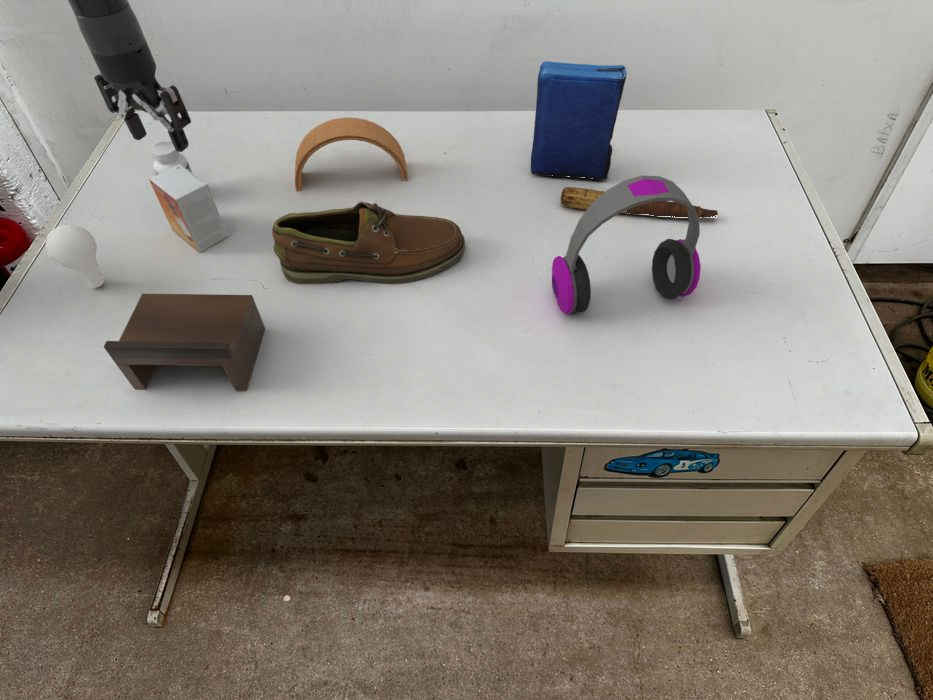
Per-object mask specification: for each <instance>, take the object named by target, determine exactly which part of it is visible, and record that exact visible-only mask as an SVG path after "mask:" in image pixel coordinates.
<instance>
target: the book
mask: <svg viewBox="0 0 933 700" xmlns="http://www.w3.org/2000/svg"><path fill="white" fill-rule="evenodd" d="M627 75H628V73H627V69H626V66H624V65H622V64H615V65H614V64H613V65H611V64H610V65H607V64H606V65H603V64H600V65H599V64H587V63H586V64H584V63H569V62H558V61H548V60H547V61H543V62H542V63H541V64H540V66H539V72H538V76H537V83H536V84H537V86H536V87H537V88H536V89H537V91H536V102H535V103H536V104H535V115H534V126H533V127H534V128H533V138H532V147H531V154H530V173H531V174H533V175H538V174H539V176H543V175H544V176H545V175H546V176H549V175H550V176H549V177H553V176H570V177H585V178H593V179H604V180H606V179H607V178H608V176H609V172H610V169H611V165H612V155H613V146H612V144H611V141H612V139H613V135H614V132H615V131H614V130H615V127H616V124H617V123H616V122H617V118H618V114H619V108H620V105H621V101H622V97H623V93H624V88H625V84H626V79H627ZM552 175H553V176H552ZM606 177H607V178H606ZM605 178H606V179H605ZM593 179H592V180H593Z"/></svg>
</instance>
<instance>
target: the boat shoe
mask: <svg viewBox="0 0 933 700" xmlns="http://www.w3.org/2000/svg"><path fill="white" fill-rule="evenodd" d="M271 233H272V239H273V241H274V243H273V247H272V248H273V252H274V254H275V255H276V256H277V258H278V260H279V264H280V267H281V272H282V274H283V276H284V277H285V279H286V280H287V281H289V282H292V283H295V284H296V283H297V284H302V285H303V284H338V283H340V282H342V281H343V280H356V281H363V282H370V283H371V282H372V283H380V284H405V283H411V282H416V281H419V280H423V279H426V278H428V277H431V276H433V275H436V274H437V273H440V272H442V271H444V270H446V269H447V268H449V267H450V266H452V265H454V264H455V263H456V262H457V261H458V260H459V259H461V257H462V256H463V255H464V253H465V251H466V239H465V236H464V234H463V233H462V230H461V228H460V226H459V225H458V224H457V223H456V222H454V221H453V220H450V219H447V218H444V217H437V216H426V215H413V214H412V215H410V214H401V213H394V212H393V211H391V210H389V209H387V208H384V207H382V206H379V205H378V204H377V203H370V202H367V201H359V202H358V203H356V204H355V205H354V206H352V207H347V208H332V209H326V210H319V211H310V212H307V211H306V212H290V213H287V214H284V215H282V216H281V217H279V218H277V219H276V220H275V221H274V222H273V224H272V229H271Z"/></svg>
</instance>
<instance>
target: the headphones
mask: <svg viewBox="0 0 933 700" xmlns="http://www.w3.org/2000/svg"><path fill="white" fill-rule="evenodd" d="M654 201H669V202H677V203H680V204H683V205H685V206H686V207H687V209H688V218H689V219H688V226H687V230H686V236H685V238H684V239H683V238H679V239H673V238H667V239H664V240H663V241H661V242H660V243H659V244H658V246H657V247H656V248H655V250H654V251H653V255H652V259H651V260H652V261H651V275H652V281H653V284H654V287H655V289H656V290H657V292H658V293H659V294H660V295H661V296H662V297H663V298H666V299H668V300H673V299H676V298H677V299H678V298H679V297H680V298H686V297H688V296H690V295H692V294H693V293H694V291H696V289H697V288H698V285H699V282H700V279H701V267H702V266H701V261H700V254H699V253H698V250H697V248H696V247H697V244H698V240H699V238H700V235H701V234H700V233H701V232H700V231H701V230H700V229H701V228H700V220H699V217H698V215H697V212H696V210H695V208H694V207H693V203H692V202H691V201H690V198H688V196H687V195H686V194H685V191H683V189H682V188H680V187H679V186H678V185H677V184H676V183H675V182H674V181H672V180H670V179H668V178H665V177H662V176H660V175H639V176H635V177H631V178H627V179H624V180H622V181H620V182H619V183H617V184H615V185H613V186H612V187H610V188H608V189H606V190H605V192H604V193H603V194H602V195H601V196H600V197H599V198H597V199H596V200H595V201H594V202H593V203H592V204H591V205H590V206H589V208H588V209H587V210H586V209H585V212H584V213H583V214H582V215H581V217H580V218H579V219H578V222H577V224H576V226H575V228H574V230H573V232H572V234H571V237H570V240H569V243H568V247H567V250H566V254H565V256H561V255H557V256H555V257H554V258H553V260H552V264H551V287H552V293H553V295H554V298H555V300H556V303H557V306H558V308H559V309H560V311H561V312H562V313H563V314H564V315H570V314H572V312H574V313H577V314H582V313H584V312H586V311H587V309H589V306H590V303H591V297H592V296H591V295H592V288H591V280H590V275H589V271H588V268H587V265H586V263H585V261H584V260H583V258H582V257H581V255H580V251H581V250H582V249H583V247H584V245H585V243H586V242H587V240H588V238H589V237H590V236H591V235H592V234H593V233H594V232H595V231H597V230H598V229H599V228H600V227H601V226H602V225H603V224H605V223H607V222H608V221H610V220H611V219H613V218H614V217H616V216H617V215H620V214H619V213H621V212H623V211H626V210H628V209H630V208H633V207H635V206H637V205H641V204H646V203H650V202H654Z"/></svg>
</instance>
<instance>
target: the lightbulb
mask: <svg viewBox="0 0 933 700" xmlns="http://www.w3.org/2000/svg"><path fill="white" fill-rule="evenodd" d="M97 246H98V245H97V241H96V239H95V238H94V236H93V235H92V233H91V232H90V231H89V230H87V229H86V228H84V227H82V226H79V225H76V224H69V223H68V224H62V225H58V226H56V227H55V228H53V229H52V230H51V231H50V232H49V233H48V234H47V237H46V240H45V249H46V252H47V254H48V255H49V257H50V259H52V260H53V261H54V262H55V263H56V264H58V265H60V266H62V267H64V268H67V269H69V270H70V271H72V272H73V273H74V274H75V275H76V276H77V277H78V278H79V279H80V280H82V281H83V283H84V284H85V285H86V286H87V288H91V289H96V288H99V287H101V286H102V285H103V284H104V283H105V278H104V276H103V274H102V272H101V268H100V266H99V264H98V261H97V252H98V251H97V248H98V247H97Z"/></svg>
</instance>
